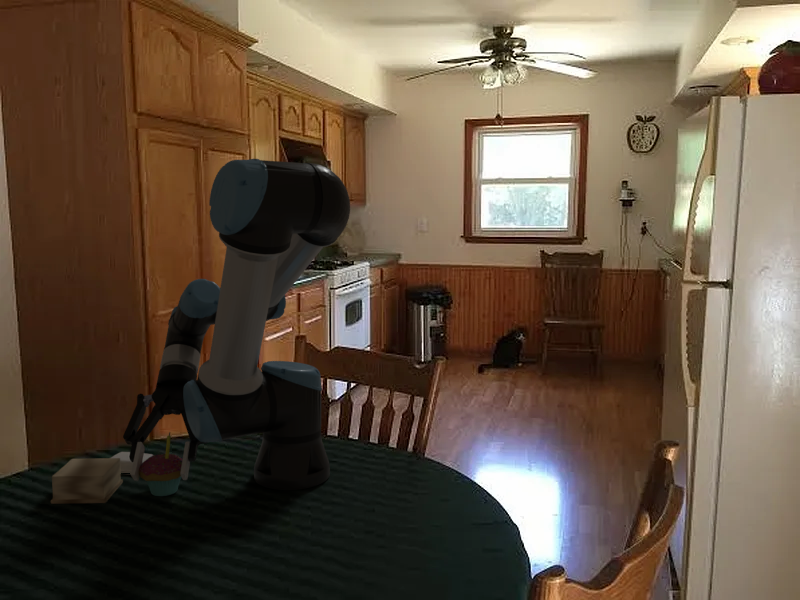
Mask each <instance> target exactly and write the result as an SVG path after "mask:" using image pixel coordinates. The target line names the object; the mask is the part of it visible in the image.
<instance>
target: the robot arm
mask: <svg viewBox="0 0 800 600" xmlns="http://www.w3.org/2000/svg"><path fill="white" fill-rule="evenodd" d="M211 185H212V186H211V190H210V194H209V195H210V196H209V206H210V210H209V218H210V221H211V226H212V227H213V228H214V230H215V231H217V233H218V237H219V241H221V243H223V245H225V247H226V249H225V255H224V256H225V257H224V262H223V268H222V277H221V280H220V281H221V283H220V286H219V285H218V284H217V283H215V282H214V281H212V280H208V279H206V278H197V279H194V280H192V281H190V282H189V283H188V284H187V286H186V287H185V288H184V290H183V292H182V294H180V297H179V301H178V304H177V305H176V306H175V307H174V308H173V309H172V310H171V313H170V317H169V319H168V325H167V326H168V327H167V332H166V333H167V334H166V338H165V344H164V348H163V352H162V355H161V360H160V365H159V371H158V375H157V380H156V385H155V389H154V391H152V394H145V395H144V394H143V393H138V394H137V395H136V405H135V407H134V409H133V412H132V414H131V417H130V418H129V419H130V420H129V421H128V423H127V426H126V428H125V430H124V433H123V437H122V438H123V440H124V441H125V444H126V445H131V447H130V451H129V452H130V456H129V458H130V460H131V462H133V466H132V471H131V474H130V476H131V478H132V479H133V481H134V482H135V481H136V482H139V479H140V476H139V468H140V466H141V464H142V461H143V456H144V453H145V450H146V448H145V446H144V443H145V441H146V440H147V439H148V437H149V436H150V435H151V433H152V431H153V430H154V428H155V427H156V426H157V424H158V423H159V422H160V420H162V419H163V418H164V417H165V416H169V415H176V416H179V415H181V416H182V420H183V423H184V425H185V429H186V431H187V434H188V437H189V441H185V443H184V449H183V455H182V459H183V460H182V466H181V472H180V475H181V477H182V478H181V480H183V481H187V480H188V477H189V471H190V465H191V464H190V463H192V462H193V463H194V462H195V461H196V460H197V455H198V454H197V453H198V448H199V446H200V445H202V444H204V445H207V444H208V443H210V442H211V443H213V442H223V441H226V440H230V439H235V438H241V437H246V436H251V435H257V434H262V441H261V444H260V447H259V451H258V454H257V457H256V460H255V463H254V467H253V478H254V479H253V480H254V481H255V483H256V484H258V485H260V486H261V487H264V488H268V489H271V490H278V491H279V490H280V491H296V490H297V491H298V490H304V489H309V488H313V487H316V486H318V485H321V484H323V483H324V482H326V481H327V480H328V479H329V478H330V472H331V469H330V468H331V467H330V461H329V457H328V454H327V453H326V452H327V451H326V448H325V445H324V443H323V440H322V392H323V388H322V379H321V378H322V377H321V373H320V371H319V369H318V368H317V367H315V366H313V365H311V364H307V363H303V362H296V361H288V360H271V361H264V362H262V365H261V367H260V368H259V367H258V364H259V358H260V355H261V349H262V345H263V344H262V343H263V338H264V332H265V327H266V324H267V321H271V320H276V319H280V318H281V317H282V316H283V315H284V313H285V309H286V306H287V298H286V295H287V293H288V292H289V290H290V289H291V288H292V287H293V285H294V284H295V283H296V282H297V281H298V279H299V278H300V277H301V275H302V274H303V273H304V272H305V271H306V269H307V268H308V267H309V265H310V264H311V263H312V262H313V260H315V258H316V257H317V256H318V254H319V253H320V252H321V251H322V249H324V248H325V247H329V246H331V245H332V244H334V243H335V242H336V241H337V240H338V239H339V238H340V236H341V235H342V233H343V232H344V231H345V229H346V226H347V224H348V222H349V219H350V214H351V200H350V196H349V192H348V189H347V188H346V185H345V183H344V181H343V180H342V179H341V178H340V177H339V176H338V175H337V174H336V173H335V172H334V171H332V170H331V169H329V168H328V167H325V166H324V165H321V164H318V163H313V162H296V161H294V162H292V161H278V160H276V161H275V160H264V159H263V160H262V159H259V158H249V159H233V160H230V161H228V162H226V163H225V164H224V165H223V166H221V167H220V169H219V171H218V172H217V174H216V176H215V177H214V180H213V182H212V184H211ZM212 325H214V326H213V327H214V328H213V334H212V339H211V346H210V351H209V352H210V353H209V359H208V360H205V362H203V363H202V364H201V365H200V362H201V361H200V360H201V355H202V354H201V353H202V350H203V349H202V348H203V343H204V339H205V336H206V333H207V332H208V330H209V328H210V326H212ZM152 402H153V403H154V406H153V407H152V409H151V412H150V413H149V414H148V416H147V417H146V419H145V420H144V422H143V423H142V421H143V419H144V416H145V414H146V411H147V408H148V407H149V406H150V404H151V403H152ZM141 423H142V424H141Z"/></svg>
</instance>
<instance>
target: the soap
mask: <svg viewBox="0 0 800 600" xmlns="http://www.w3.org/2000/svg"><path fill="white" fill-rule="evenodd" d="M153 455H154V454H152V453H145V452H144V456H143V461H142V463H143V462H144V461H146V459H148V458H149V457H151V456H153ZM129 456H130V451H120V452H118V453H116V454H114V455H112V456H111V457H110V458H120V473H130V474H129V475H131V471H132V466H133V462H131V460H130V458H129Z"/></svg>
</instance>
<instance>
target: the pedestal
mask: <svg viewBox="0 0 800 600" xmlns="http://www.w3.org/2000/svg"><path fill="white" fill-rule="evenodd" d="M121 476H122V474H121V473H120V458H111V457H109V458H108V457H106V458H103V457H102V458H100V457H99V458H71V459H69V461H68V462H67V463H65V464H64V465H63V466H62V467H61V468H59V470H57V472H55V473H54V474H52V476H51V481H52V482H51V483H52V499H51V500H50V504H52V505H53V504H56V505H57V504H58V505H59V504H106V503H107V502H108V500H110V498H111V497H112V496H113V494H115V493H116V491H117V490H118V489H119V488H120V486H121V485H122V484H123V483H124V479H123V478H122V479H121Z"/></svg>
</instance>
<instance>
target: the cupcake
mask: <svg viewBox="0 0 800 600" xmlns="http://www.w3.org/2000/svg"><path fill="white" fill-rule="evenodd" d="M171 438H172V436H171V432H170V431H169V432H168V435H167V436H166V446H165V453H163V454H162V453H159V454H152V455H153V456H151V457H149V458H148V459H146V461H144V462H143V463H142V464H141V466H140V468H139V478H141V479H142V480H143V481H146V484H147V486H148V488H149V491H150V493H151V495H153V496H155V497H167V496H171V495H174V494H175V493H176V492H177V491H178V490H179V489H178V488H179V486H180V482H181V480H182V477H181V475H180V472H181V466H182V460H183V457H181V456H180V455H177V454H175V453H170V449H171V448H170V447H171Z"/></svg>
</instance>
